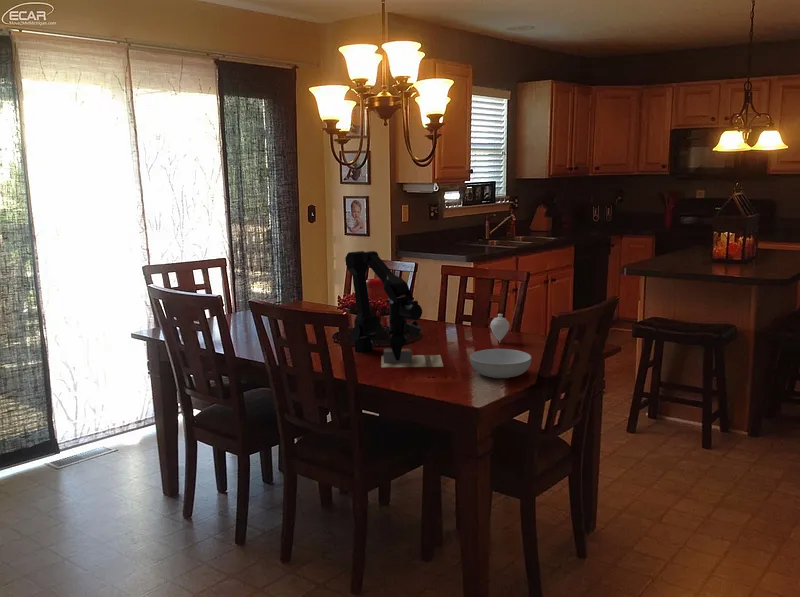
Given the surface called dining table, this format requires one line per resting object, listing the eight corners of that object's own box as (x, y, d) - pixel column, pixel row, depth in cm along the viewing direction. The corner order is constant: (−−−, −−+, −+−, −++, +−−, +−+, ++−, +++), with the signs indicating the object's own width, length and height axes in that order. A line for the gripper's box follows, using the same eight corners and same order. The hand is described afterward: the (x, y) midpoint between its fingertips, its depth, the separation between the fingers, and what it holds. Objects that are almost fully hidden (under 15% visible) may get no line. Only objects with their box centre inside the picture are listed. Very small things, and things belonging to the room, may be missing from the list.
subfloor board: (381, 371, 254) (381, 367, 254) (381, 359, 270) (381, 355, 270) (443, 370, 255) (443, 366, 254) (440, 358, 271) (440, 354, 270)
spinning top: (488, 344, 292) (489, 315, 290) (491, 340, 299) (492, 311, 297) (507, 345, 290) (508, 316, 288) (510, 341, 297) (511, 312, 295)
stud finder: (383, 363, 260) (383, 351, 259) (383, 359, 264) (383, 348, 264) (411, 362, 260) (411, 351, 259) (411, 359, 265) (411, 348, 264)
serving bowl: (493, 363, 264) (493, 345, 263) (542, 374, 249) (543, 355, 248) (457, 375, 249) (457, 356, 248) (507, 388, 235) (507, 367, 233)
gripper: (421, 321, 250) (421, 365, 253) (418, 310, 268) (418, 351, 271) (388, 321, 250) (389, 365, 253) (388, 311, 268) (389, 352, 271)
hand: (397, 358), depth 262 cm, fingers closed on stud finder, 5 cm apart
